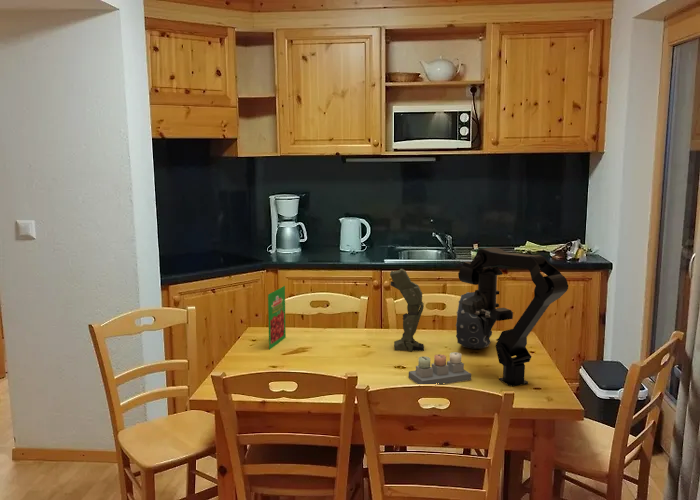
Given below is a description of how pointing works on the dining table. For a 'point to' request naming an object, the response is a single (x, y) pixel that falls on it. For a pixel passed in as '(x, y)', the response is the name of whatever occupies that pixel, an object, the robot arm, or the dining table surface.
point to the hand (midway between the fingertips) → (485, 335)
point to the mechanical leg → (411, 319)
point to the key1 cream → (455, 357)
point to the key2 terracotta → (440, 360)
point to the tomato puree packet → (276, 316)
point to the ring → (470, 328)
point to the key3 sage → (424, 362)
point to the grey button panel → (440, 374)
